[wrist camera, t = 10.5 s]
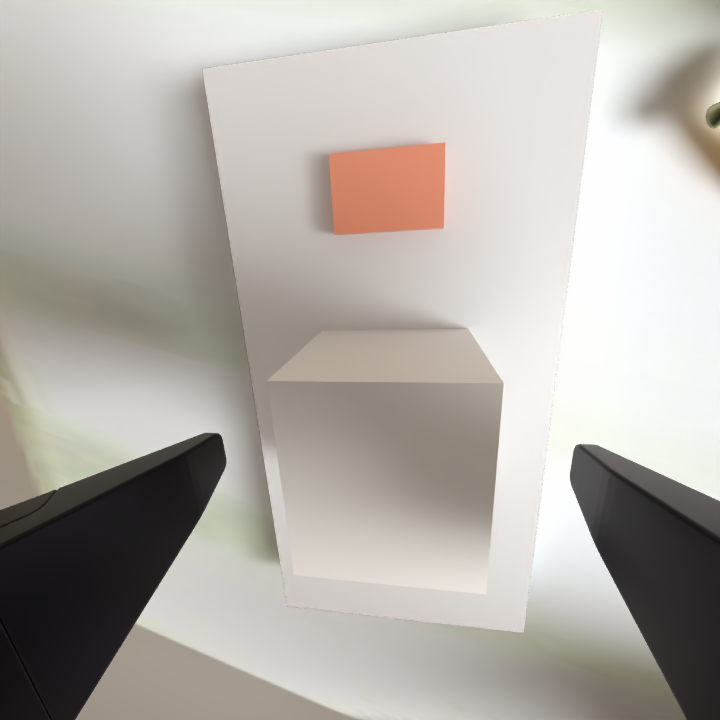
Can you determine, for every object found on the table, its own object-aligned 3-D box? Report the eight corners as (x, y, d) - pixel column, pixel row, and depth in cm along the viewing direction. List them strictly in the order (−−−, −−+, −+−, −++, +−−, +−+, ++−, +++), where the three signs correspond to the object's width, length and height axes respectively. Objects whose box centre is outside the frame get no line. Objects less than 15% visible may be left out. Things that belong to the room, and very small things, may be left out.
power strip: (510, 587, 16) (528, 649, 13) (300, 567, 17) (282, 619, 15) (567, 54, 10) (617, -9, 7) (237, 97, 11) (188, 57, 9)
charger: (455, 443, 14) (486, 594, 8) (343, 439, 15) (293, 574, 9) (460, 316, 12) (503, 383, 6) (335, 318, 13) (266, 381, 7)
